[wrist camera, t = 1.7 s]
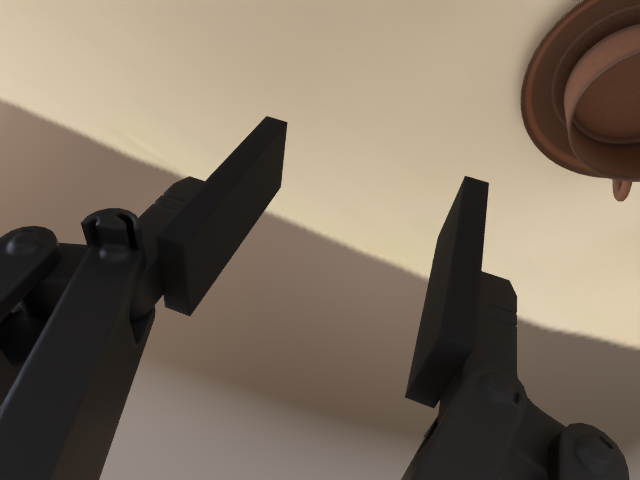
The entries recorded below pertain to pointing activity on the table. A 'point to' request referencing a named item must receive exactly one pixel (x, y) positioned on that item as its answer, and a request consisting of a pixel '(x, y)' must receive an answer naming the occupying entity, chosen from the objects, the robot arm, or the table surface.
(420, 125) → the table surface
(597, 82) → the cup and saucer
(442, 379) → the robot arm
